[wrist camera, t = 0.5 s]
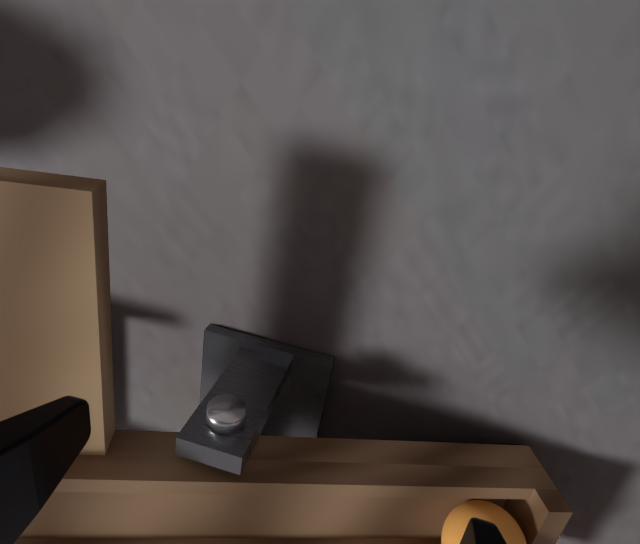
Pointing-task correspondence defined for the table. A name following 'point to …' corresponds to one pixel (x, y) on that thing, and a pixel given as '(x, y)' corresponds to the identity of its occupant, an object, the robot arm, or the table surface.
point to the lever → (159, 447)
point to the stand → (252, 397)
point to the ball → (484, 511)
